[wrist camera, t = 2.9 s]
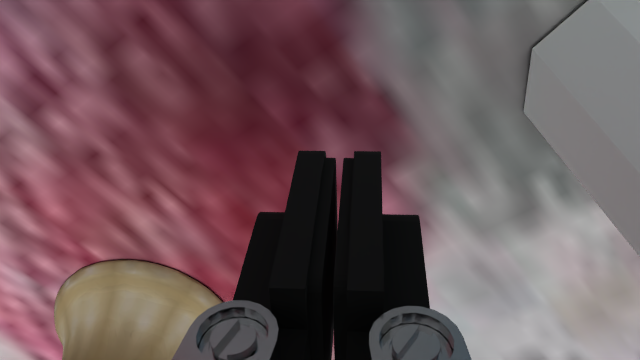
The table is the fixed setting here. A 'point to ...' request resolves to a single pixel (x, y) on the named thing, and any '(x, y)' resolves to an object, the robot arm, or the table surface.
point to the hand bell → (127, 311)
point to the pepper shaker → (594, 104)
